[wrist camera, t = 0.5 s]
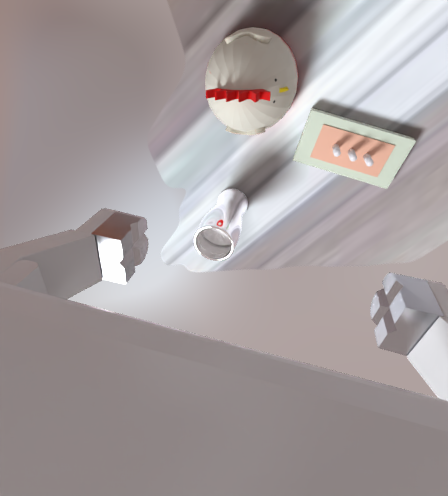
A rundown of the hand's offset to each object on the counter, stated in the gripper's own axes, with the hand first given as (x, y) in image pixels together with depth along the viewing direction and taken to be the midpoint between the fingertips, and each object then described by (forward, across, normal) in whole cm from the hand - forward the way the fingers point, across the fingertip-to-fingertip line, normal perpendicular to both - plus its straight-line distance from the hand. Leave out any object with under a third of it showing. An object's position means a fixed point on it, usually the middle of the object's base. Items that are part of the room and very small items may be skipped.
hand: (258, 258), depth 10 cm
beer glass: (+44, +7, +22) cm, 50 cm away
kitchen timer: (+45, +7, +1) cm, 45 cm away
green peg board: (+44, -10, +8) cm, 46 cm away
